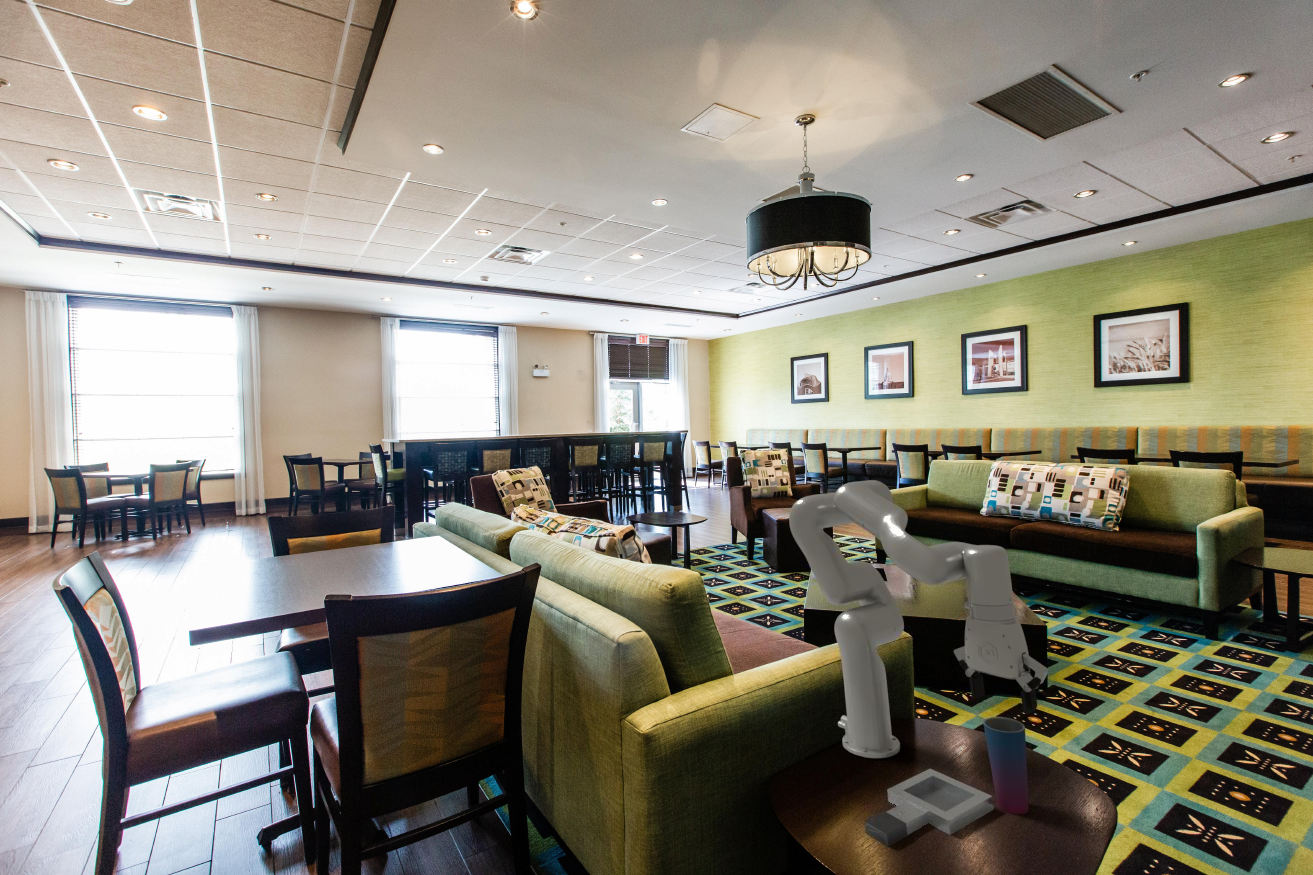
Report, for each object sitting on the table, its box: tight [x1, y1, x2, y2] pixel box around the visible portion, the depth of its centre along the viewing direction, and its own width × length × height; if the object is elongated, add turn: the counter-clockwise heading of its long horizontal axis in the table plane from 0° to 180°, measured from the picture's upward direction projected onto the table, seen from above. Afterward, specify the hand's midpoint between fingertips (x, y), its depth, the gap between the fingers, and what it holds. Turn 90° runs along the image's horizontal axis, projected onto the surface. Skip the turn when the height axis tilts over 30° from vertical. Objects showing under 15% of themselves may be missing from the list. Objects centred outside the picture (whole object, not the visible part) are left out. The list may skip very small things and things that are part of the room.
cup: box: [982, 716, 1029, 815], centre depth 111 cm, size 7×7×15 cm
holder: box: [864, 768, 995, 847], centre depth 110 cm, size 24×13×2 cm, turn 120°
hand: (1003, 703), depth 111 cm, fingers open, 9 cm apart
